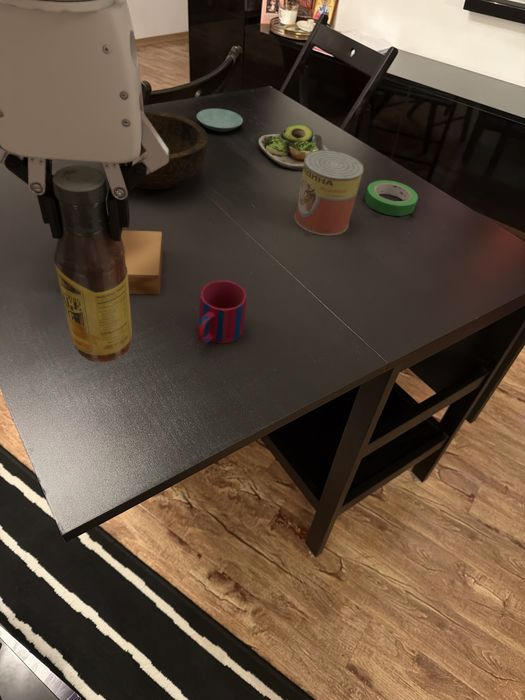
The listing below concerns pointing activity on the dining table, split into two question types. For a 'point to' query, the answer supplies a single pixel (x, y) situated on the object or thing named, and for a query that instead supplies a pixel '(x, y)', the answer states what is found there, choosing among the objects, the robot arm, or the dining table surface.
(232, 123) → the saucer
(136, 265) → the oak stand
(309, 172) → the canned food
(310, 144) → the avocado toast plate
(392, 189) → the tape roll
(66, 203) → the sauce bottle
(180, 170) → the bowl
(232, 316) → the mug
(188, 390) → the dining table surface
